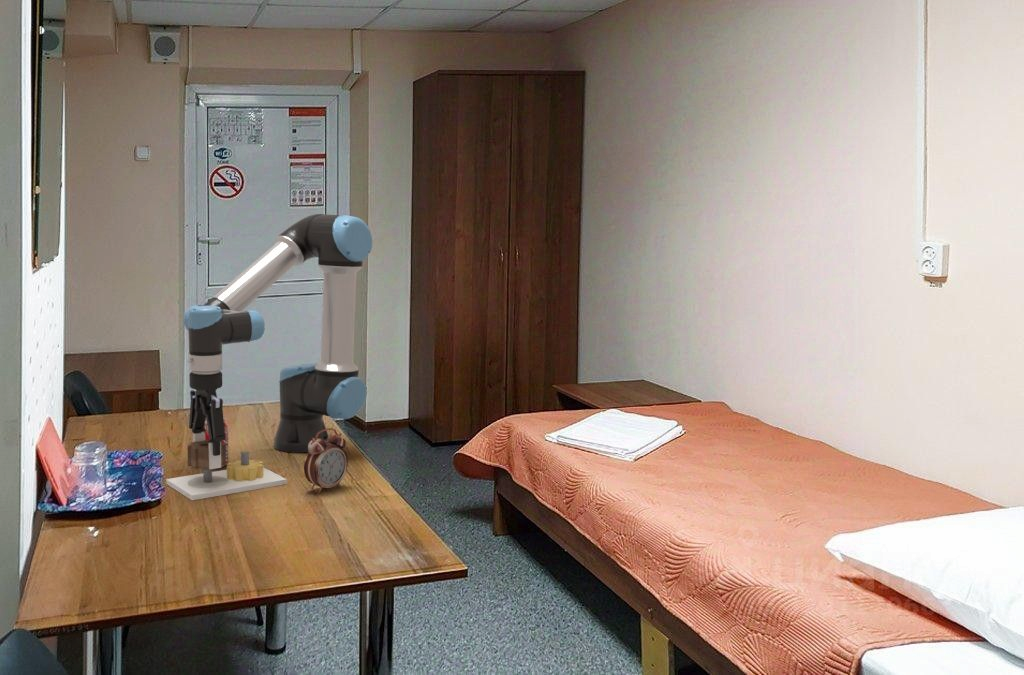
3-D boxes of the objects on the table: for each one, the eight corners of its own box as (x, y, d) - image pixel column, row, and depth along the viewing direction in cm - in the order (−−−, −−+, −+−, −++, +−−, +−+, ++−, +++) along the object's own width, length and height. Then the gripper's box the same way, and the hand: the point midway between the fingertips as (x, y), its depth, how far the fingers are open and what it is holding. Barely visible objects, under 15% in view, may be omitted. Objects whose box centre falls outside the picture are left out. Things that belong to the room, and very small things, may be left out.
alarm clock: (315, 496, 253) (315, 434, 251) (302, 491, 256) (301, 430, 254) (349, 486, 262) (349, 426, 259) (336, 482, 265) (336, 423, 262)
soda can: (220, 470, 272) (220, 424, 271) (195, 468, 274) (194, 422, 272) (233, 463, 279) (232, 418, 278) (208, 461, 281) (207, 416, 279)
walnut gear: (216, 458, 263) (216, 438, 262) (231, 466, 256) (231, 446, 256) (182, 463, 258) (182, 443, 257) (196, 471, 251) (196, 450, 250)
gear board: (258, 469, 275) (258, 441, 273) (286, 484, 262) (286, 455, 261) (166, 483, 260) (165, 455, 259) (191, 500, 247) (191, 470, 246)
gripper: (173, 365, 260) (175, 456, 263) (208, 380, 243) (210, 476, 246) (203, 363, 264) (204, 452, 268) (239, 377, 248) (240, 471, 251)
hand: (207, 463), depth 257 cm, fingers closed on walnut gear, 9 cm apart
